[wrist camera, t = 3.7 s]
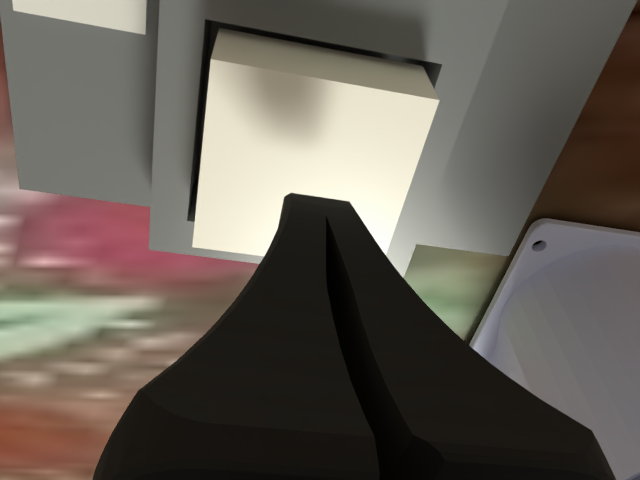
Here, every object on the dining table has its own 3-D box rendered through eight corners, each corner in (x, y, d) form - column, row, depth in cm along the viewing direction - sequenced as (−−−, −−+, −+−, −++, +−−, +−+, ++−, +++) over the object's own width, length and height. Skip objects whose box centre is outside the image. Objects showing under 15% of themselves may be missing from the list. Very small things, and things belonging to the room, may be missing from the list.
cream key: (371, 227, 18) (380, 271, 16) (201, 203, 17) (192, 247, 15) (422, 66, 15) (439, 100, 13) (218, 27, 14) (210, 59, 12)
